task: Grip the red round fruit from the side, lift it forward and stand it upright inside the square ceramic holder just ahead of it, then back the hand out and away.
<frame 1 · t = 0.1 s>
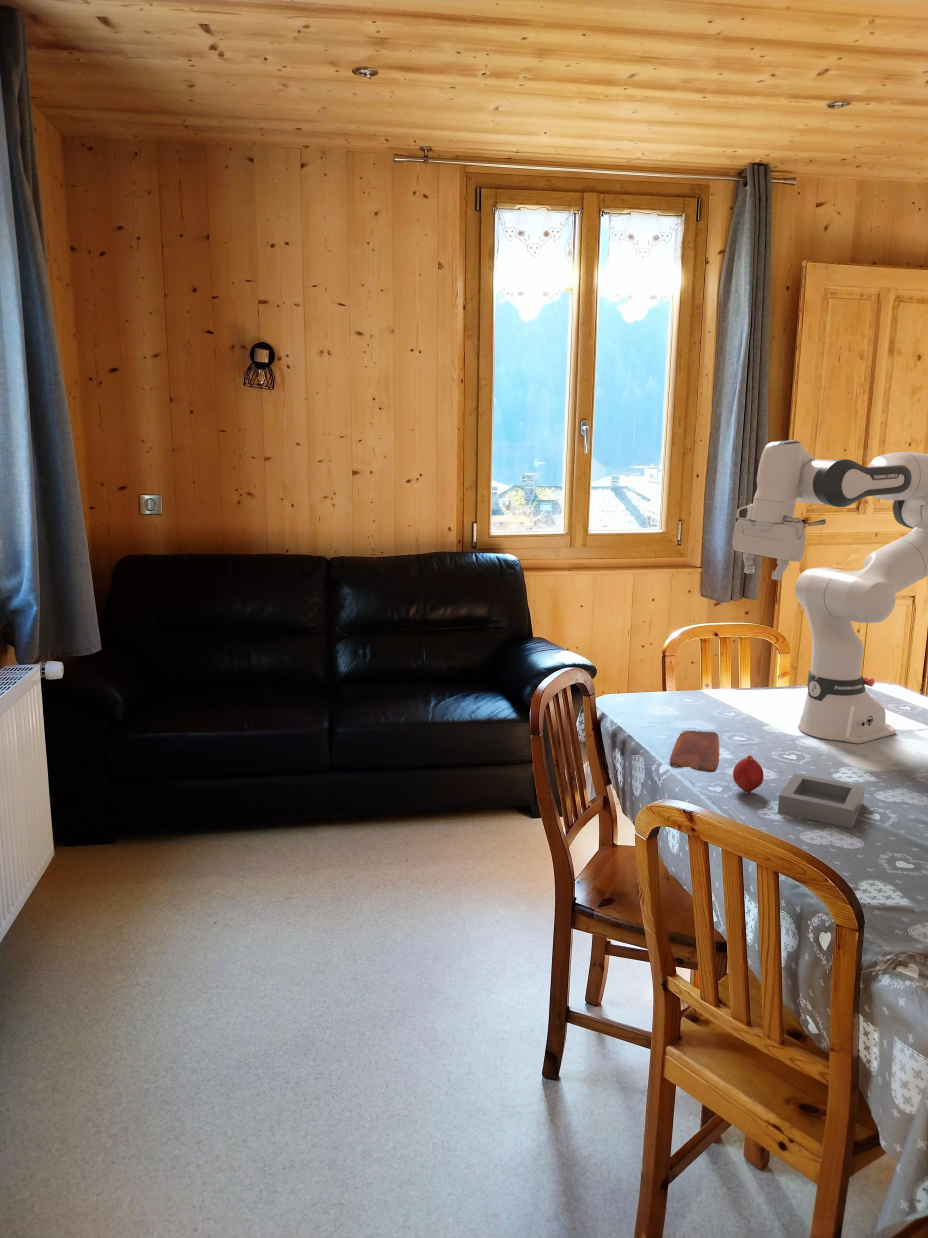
hand: (762, 576, 197), 39 cm above the table, tool pointing down, fingers open, 8 cm apart
wooden tablet: (696, 752, 200), on the table
red round fruit: (746, 793, 175), on the table
holder: (820, 808, 168), on the table
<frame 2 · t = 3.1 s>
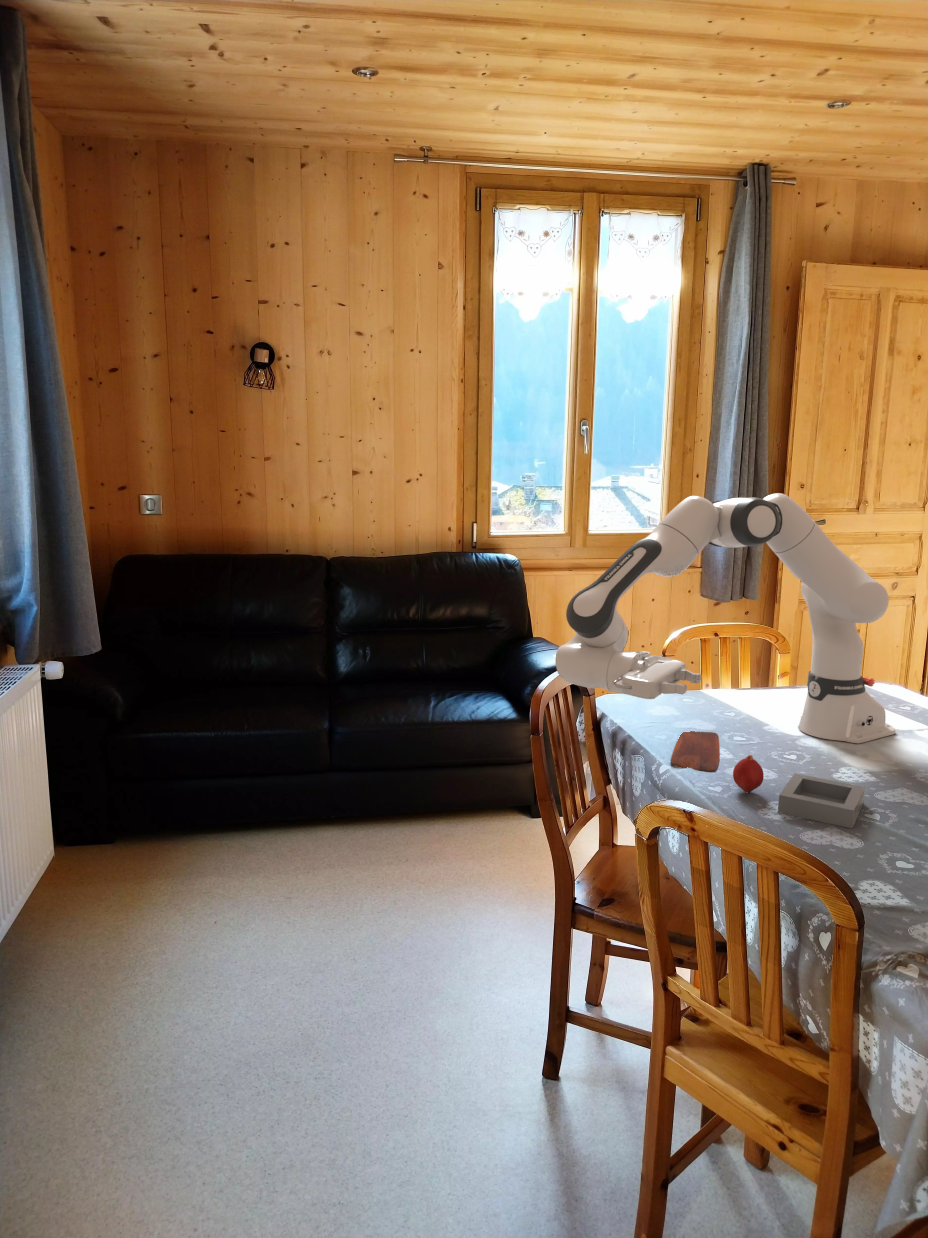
hand: (693, 684, 177), 20 cm above the table, tool horizontal, fingers open, 8 cm apart
nothing on the table moved.
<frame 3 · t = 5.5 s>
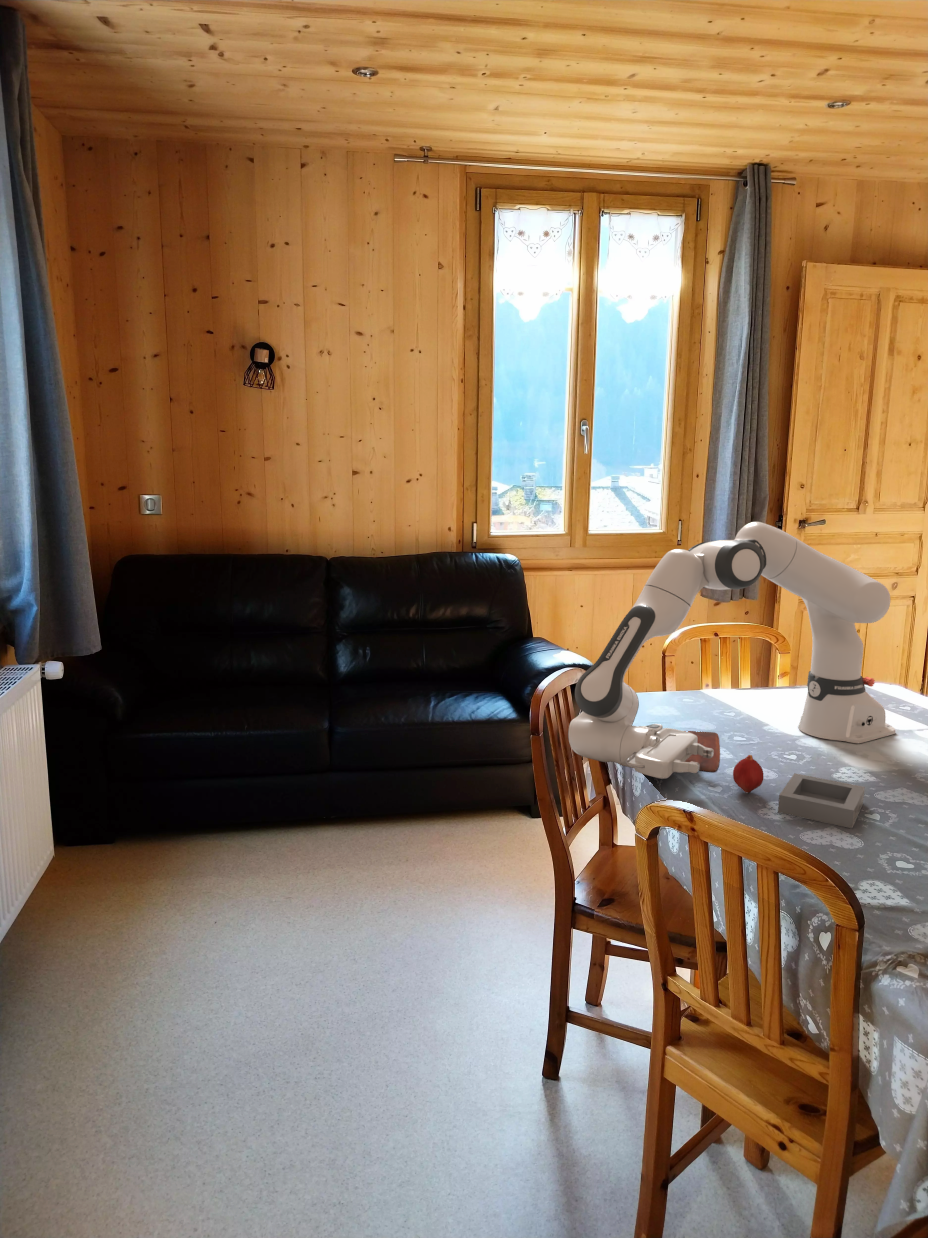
hand: (705, 761, 179), 5 cm above the table, tool horizontal, fingers open, 8 cm apart
nothing on the table moved.
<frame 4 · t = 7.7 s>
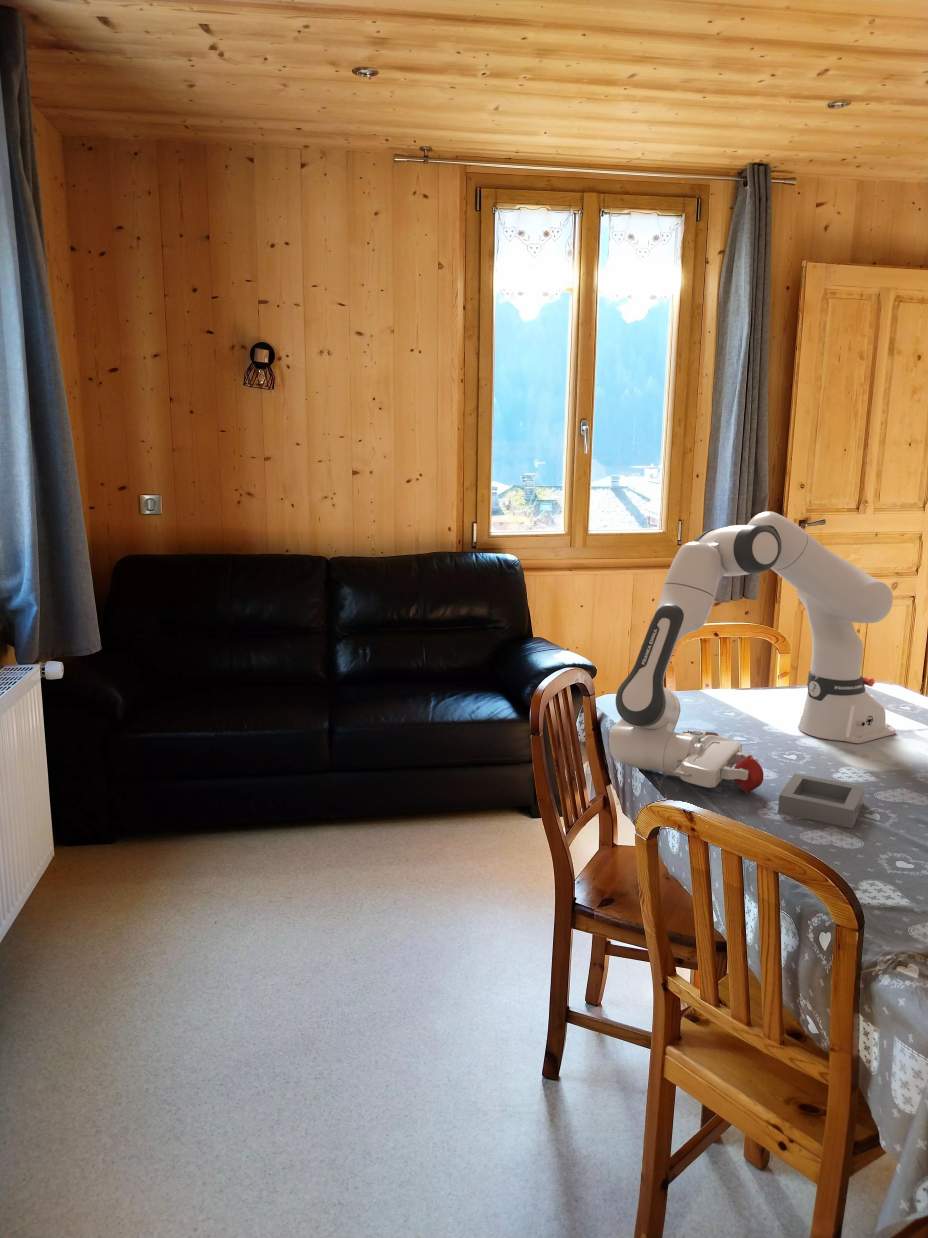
hand: (753, 769, 174), 5 cm above the table, tool horizontal, fingers closed on red round fruit, 6 cm apart
red round fruit: (746, 793, 175), on the table, touching gripper
everything else where it was.
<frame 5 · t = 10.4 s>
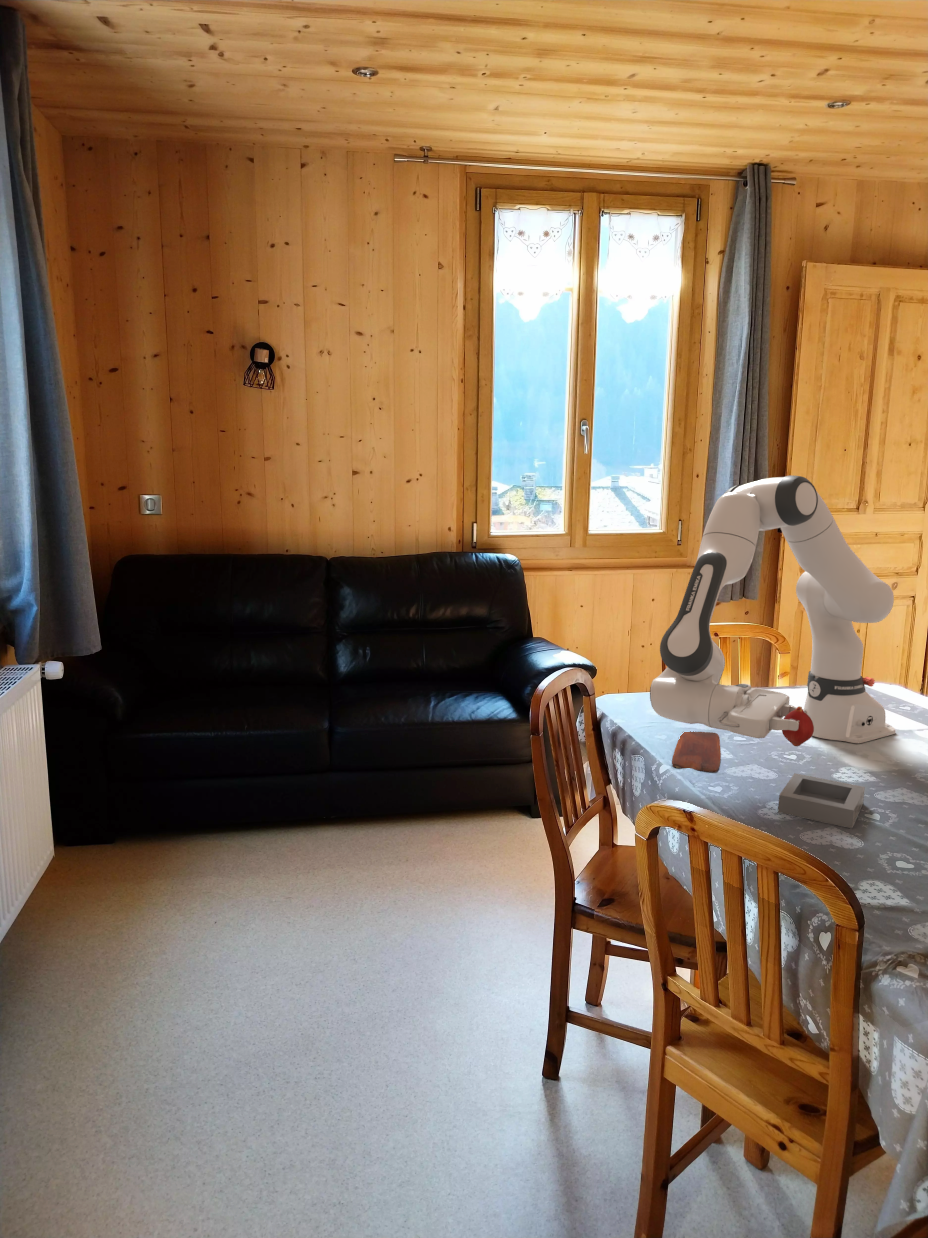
hand: (803, 720, 167), 17 cm above the table, tool horizontal, fingers closed on red round fruit, 6 cm apart
red round fruit: (795, 747, 169), point 11 cm above the table, touching gripper
everything else where it was.
when the fingers open (7 cm above the table, at t = 13.1 s): red round fruit drops 1 cm, resting on holder.
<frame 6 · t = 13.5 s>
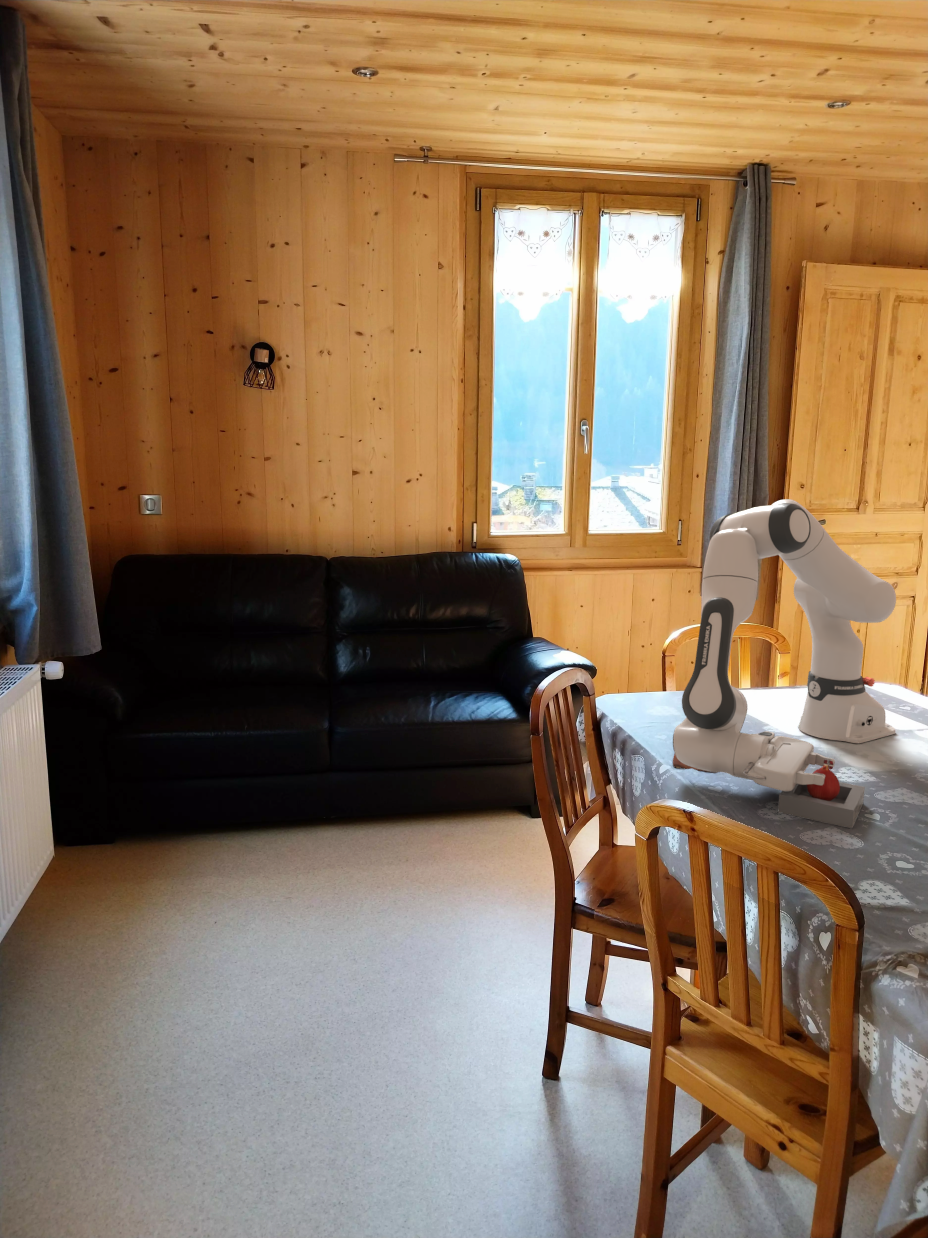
hand: (829, 772, 166), 7 cm above the table, tool horizontal, fingers open, 8 cm apart
red round fruit: (821, 805, 168), point 1 cm above the table, touching holder
everything else where it was.
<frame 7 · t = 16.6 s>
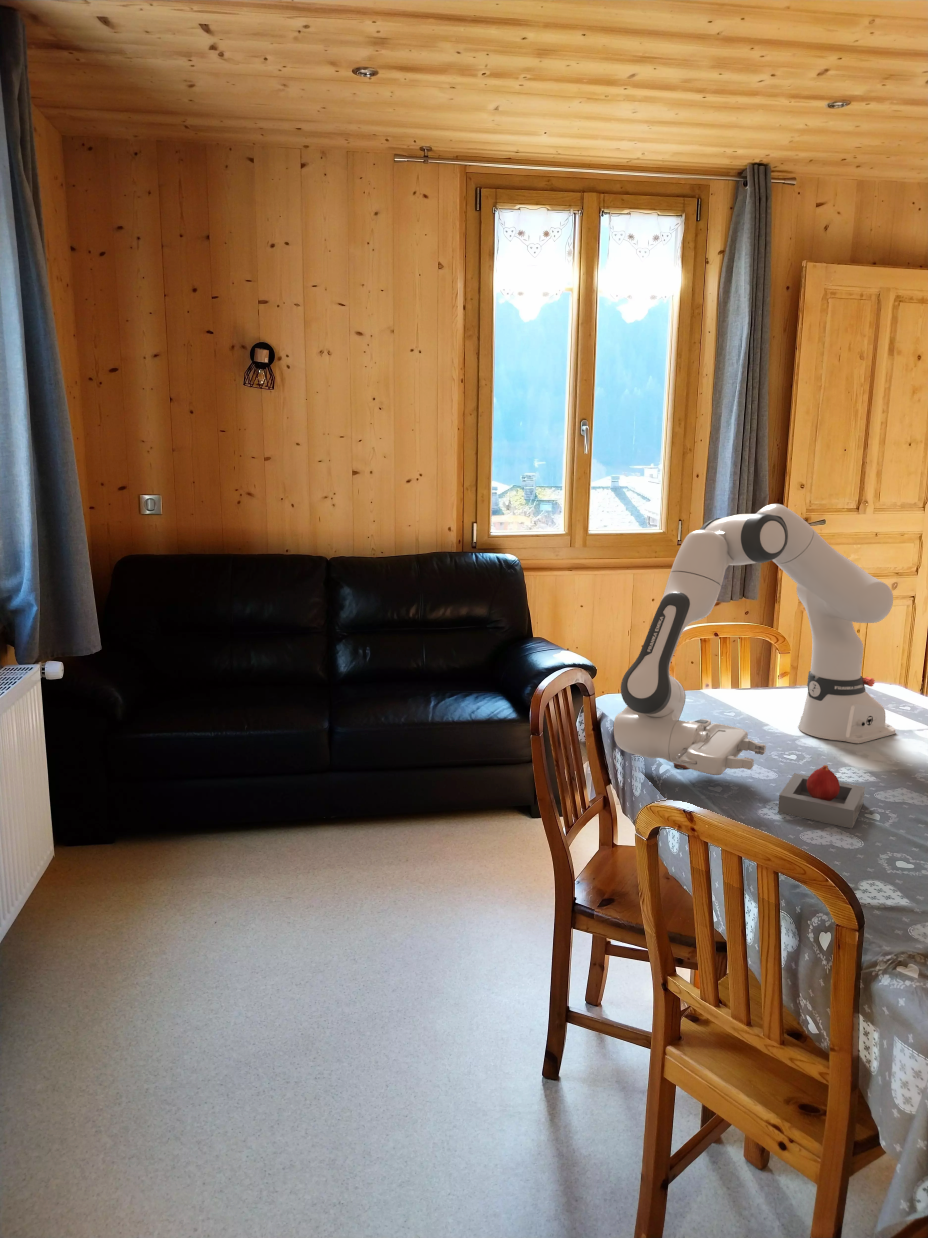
hand: (759, 757, 173), 8 cm above the table, tool horizontal, fingers open, 8 cm apart
nothing on the table moved.
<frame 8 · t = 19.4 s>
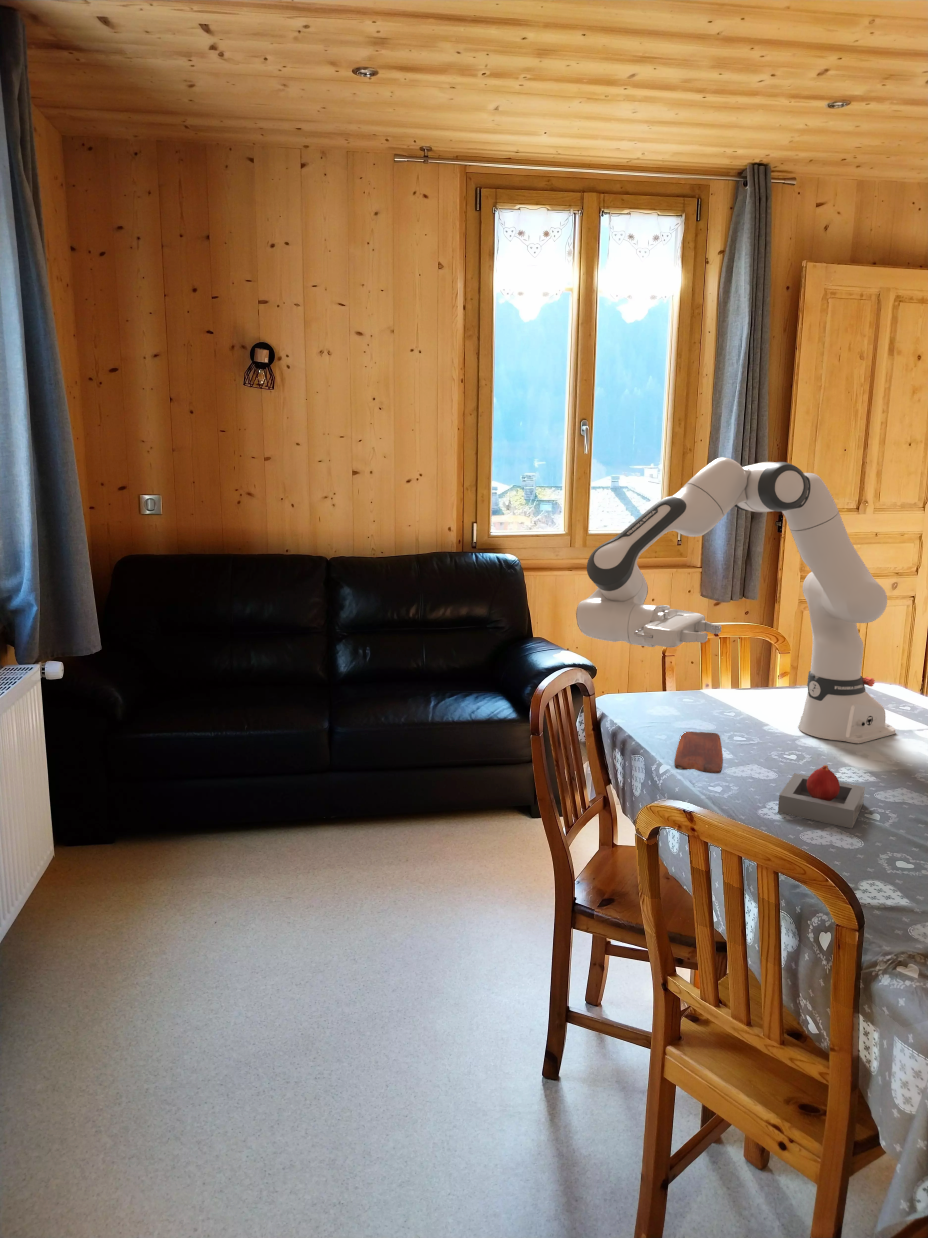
hand: (713, 633, 180), 30 cm above the table, tool horizontal, fingers open, 8 cm apart
nothing on the table moved.
at the end: red round fruit 0.0 cm off-centre on the holder, point 0.6 cm above the holder's base; red round fruit tilted 0°; the gripper is holding nothing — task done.
